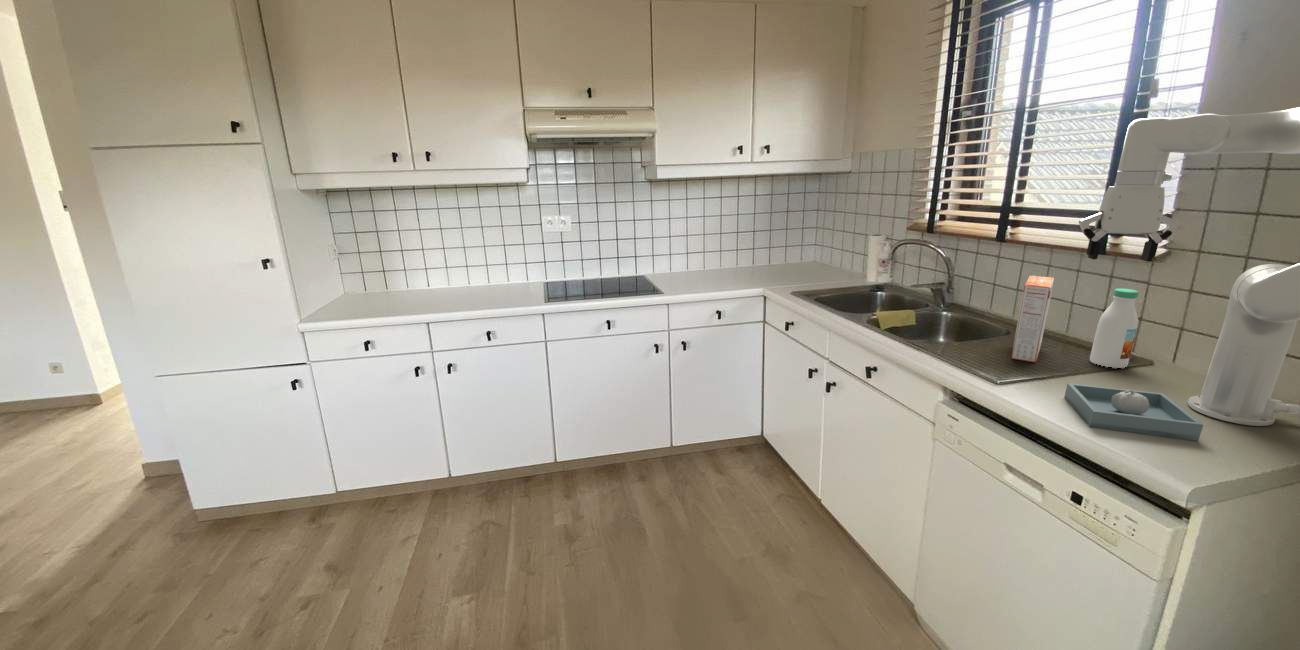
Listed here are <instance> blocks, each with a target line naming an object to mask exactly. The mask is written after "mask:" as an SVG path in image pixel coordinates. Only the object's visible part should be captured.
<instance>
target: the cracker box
mask: <svg viewBox="0 0 1300 650" xmlns="http://www.w3.org/2000/svg"><path fill="white" fill-rule="evenodd" d="M1054 280H1055V278H1054V277H1051V276H1050V277H1049V276H1039V275H1029V276H1028V279H1027V280H1026V282H1025V284H1024V287H1023V292H1022V296H1021V301H1020V302H1021V303H1020V308H1019V312H1018V313H1019V314H1018V317H1017V324H1016V330H1015V335H1014V341H1013V348H1012V351H1011V353H1012V354H1011V359H1013V360H1018V361H1024V362H1029V363H1037V360H1038V357H1039V353H1040V350H1041V346H1042V342H1043V336H1044V332H1045V327H1046V324H1047V323H1046V322H1047V317H1048V313H1049V307H1050V303H1051V298H1052V293H1053V286H1054Z"/></svg>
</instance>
